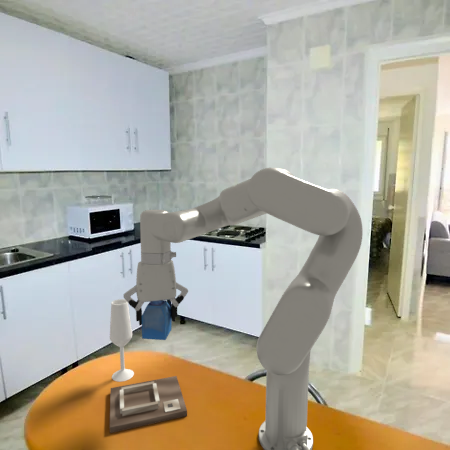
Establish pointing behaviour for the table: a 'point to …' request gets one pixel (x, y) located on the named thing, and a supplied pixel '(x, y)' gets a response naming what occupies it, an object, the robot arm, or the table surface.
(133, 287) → the robot arm
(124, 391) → the board
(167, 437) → the table surface
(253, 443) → the table surface
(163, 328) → the perfume bottle
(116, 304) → the champagne flute
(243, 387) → the table surface
